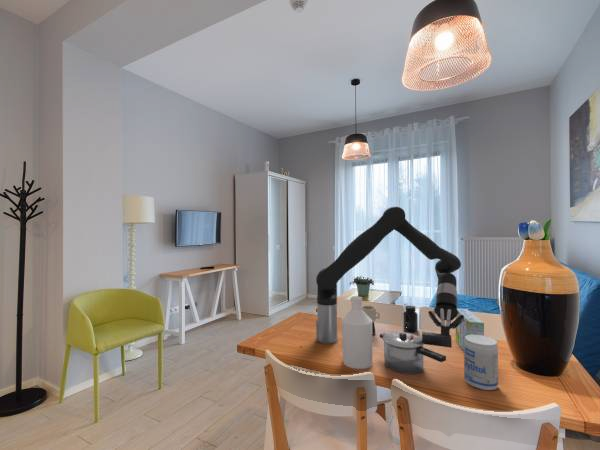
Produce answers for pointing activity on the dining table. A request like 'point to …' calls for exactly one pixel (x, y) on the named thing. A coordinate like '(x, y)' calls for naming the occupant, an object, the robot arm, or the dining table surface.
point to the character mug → (371, 314)
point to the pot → (407, 358)
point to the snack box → (468, 326)
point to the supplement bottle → (410, 319)
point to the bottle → (357, 337)
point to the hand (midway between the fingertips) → (445, 337)
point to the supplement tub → (481, 362)
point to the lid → (416, 340)
